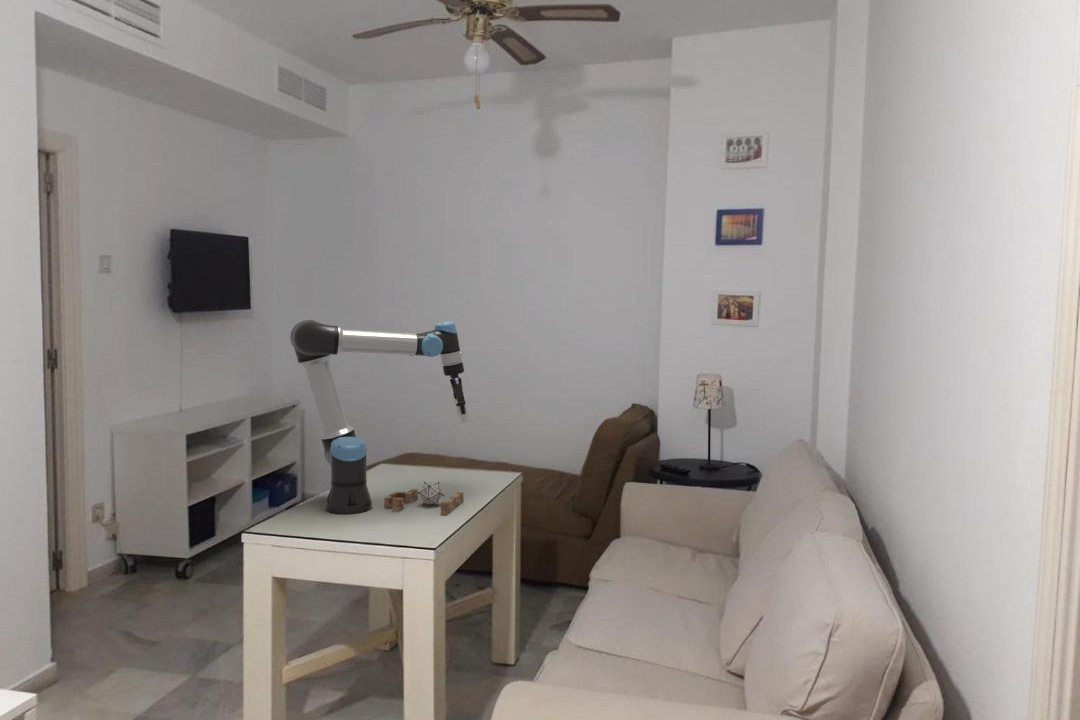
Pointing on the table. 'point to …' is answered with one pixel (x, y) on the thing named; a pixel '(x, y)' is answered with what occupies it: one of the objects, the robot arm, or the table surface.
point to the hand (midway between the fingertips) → (463, 418)
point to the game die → (430, 493)
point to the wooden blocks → (399, 498)
